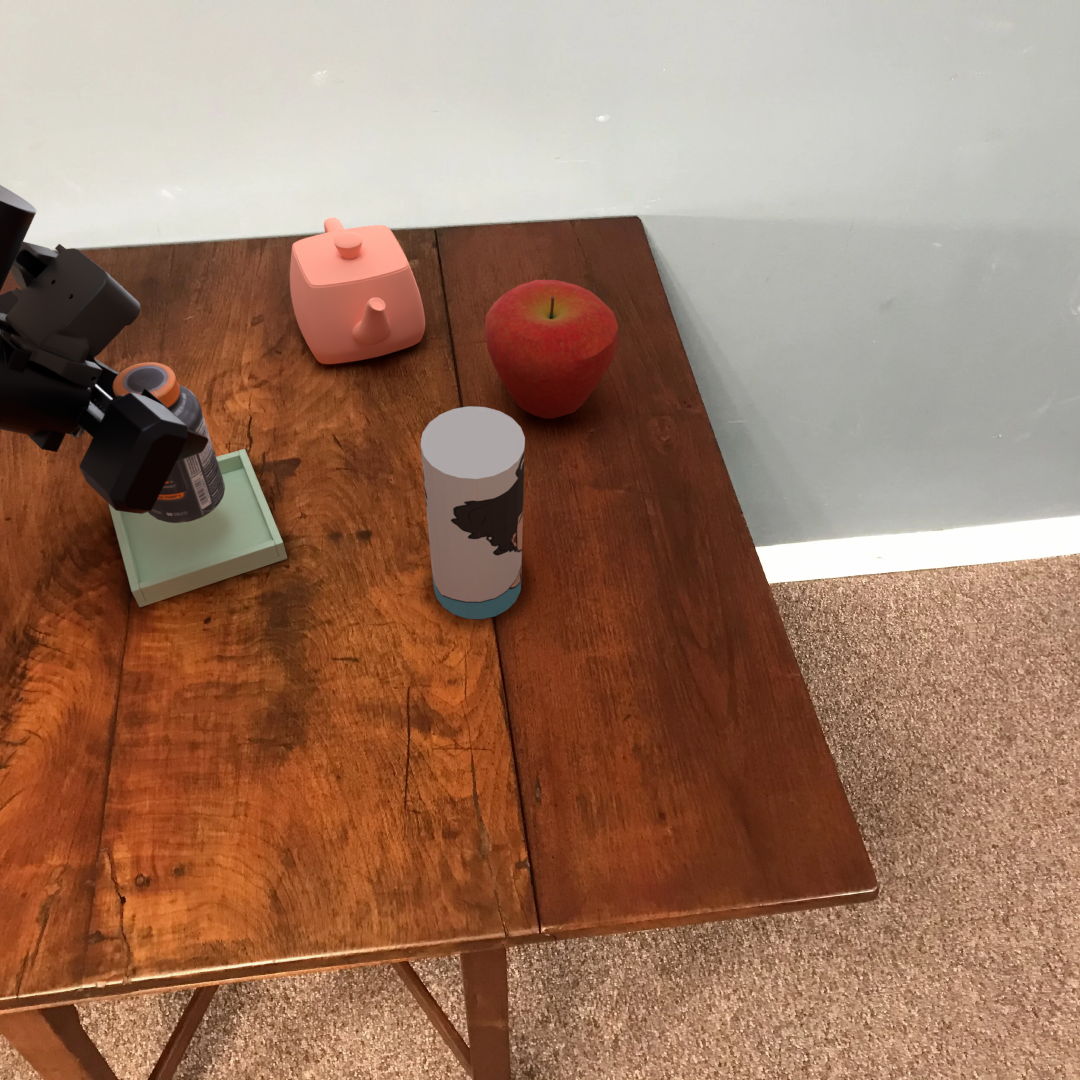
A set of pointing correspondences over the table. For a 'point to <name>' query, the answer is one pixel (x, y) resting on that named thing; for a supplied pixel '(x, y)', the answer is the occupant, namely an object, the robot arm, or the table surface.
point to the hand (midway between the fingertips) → (179, 422)
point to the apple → (550, 345)
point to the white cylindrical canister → (474, 509)
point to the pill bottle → (193, 478)
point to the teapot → (354, 293)
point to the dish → (201, 539)
